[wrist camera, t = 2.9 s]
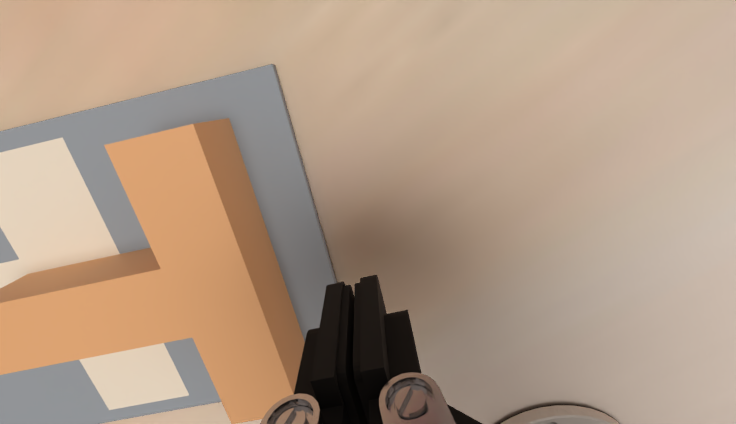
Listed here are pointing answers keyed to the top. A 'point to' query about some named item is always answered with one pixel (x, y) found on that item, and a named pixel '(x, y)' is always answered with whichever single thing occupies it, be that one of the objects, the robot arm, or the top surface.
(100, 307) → the t block
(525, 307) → the top surface
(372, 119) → the top surface
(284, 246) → the mat
